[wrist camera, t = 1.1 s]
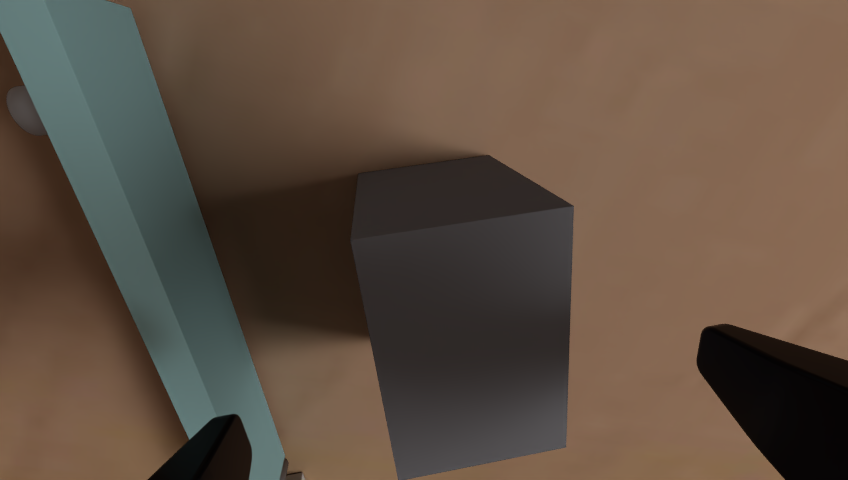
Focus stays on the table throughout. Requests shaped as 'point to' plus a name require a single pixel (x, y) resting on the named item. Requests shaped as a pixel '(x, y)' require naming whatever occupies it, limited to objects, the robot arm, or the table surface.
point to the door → (138, 204)
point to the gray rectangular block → (465, 310)
